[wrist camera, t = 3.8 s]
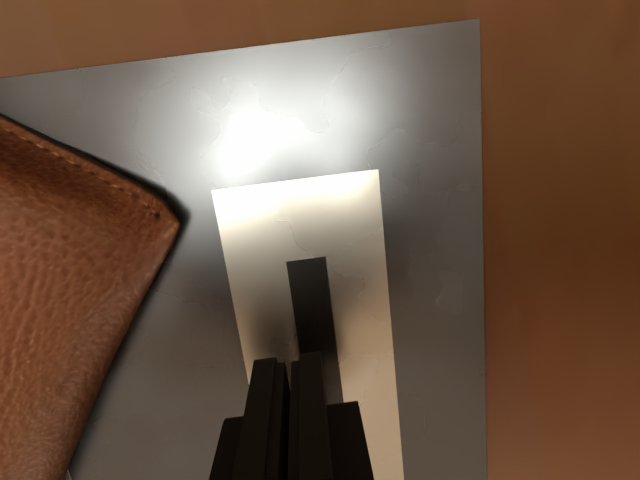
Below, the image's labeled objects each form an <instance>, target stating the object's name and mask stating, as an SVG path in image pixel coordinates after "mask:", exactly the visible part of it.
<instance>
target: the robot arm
mask: <svg viewBox="0 0 640 480" xmlns="http://www.w3.org/2000/svg"><path fill="white" fill-rule="evenodd" d="M209 480H374V476H373V471H372V466H371V461H370V456H369V452H368V447H367V442H366V437H365V432H364V427H363V422H362V418H361V413H360V408H359V403H358V401H352V402H344V403H337V404H329V405H328V403H327V396H326V389H325V381H324V374H323V366H322V359H321V352H320V351H318V352H311V353H303V354H299V360H294V361H291V383H290V387H289V381H288V375H287V369H286V364H285V362H279V363H278V362H277V358H276V357H273V358H265V359H257V360H254V362H253V367H252V373H251V378H250V384H249V389H248V394H247V400H246V405H245V410H244V416H239V417H231V418H226V419H225V420H224V421H223V424H222V428H221V432H220V436H219V440H218V444H217V448H216V452H215V456H214V460H213V464H212V468H211V472H210V476H209Z"/></svg>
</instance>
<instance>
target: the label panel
mask: <svg viewBox="0 0 640 480" xmlns="http://www.w3.org/2000/svg"><path fill="white" fill-rule="evenodd" d="M0 114H1V115H3V116H5V117H7V118H9V119H11V120H14V121H16V122H18V123H20V124H22V125H24V126H26V127H28V128H30V129H32V130H34V131H37V132H39V133H41V134H43V135H45V136H46V137H48V138H50V139H52V140H54V141H57V142H59V143H61V144H63V145H65V146H67V147H70V148H72V149H74V150H76V151H78V152H80V153H82V154H85V155H87V156H89V157H90V158H92V159H94V160H96V161H98V162H100V163H102V164H104V165H106V166H108V167H110V168H111V169H113V170H115V171H117V172H119V173H121V174H123V175H125V176H127V177H128V178H130V179H132V180H134V181H136V182H138V183H140V184H142V185H144V186H146V187H148V188H149V189H151V190H153V191H155V192H156V193H157V194H158V195H159V196H160V197H162V198H163V199H164V200H165V201H166V203H167V204H168V205H169V206H170V208H171V209H172V211H173V212H174V214H175V215H176V217H177V218H178V220H179V221H180V228H179V231H178V234H177V237H176V240H175V242H174V245H173V247H172V249H171V251H170V253H169V254H168V256H167V258H166V259H165V260H164V262H163V264H162V266H161V268H160V270H159V271H158V273H157V275H156V277H155V279H154V280H153V282H152V284H151V286H150V288H149V289H148V291H147V293H146V295H145V296H144V298H143V300H142V303H141V305H140V306H139V308H138V311H137V314H136V315H135V316H134V318H133V320H132V322H131V324H130V326H129V329H128V332H127V334H126V335H125V336H124V338H123V340H122V342H121V344H120V346H119V348H118V350H117V352H116V354H115V356H114V358H113V360H112V364H111V366H110V368H109V370H108V372H107V375H106V377H105V379H104V381H103V383H102V385H101V391H100V394H99V395H98V397H97V398H96V399H95V402H94V404H93V407H92V410H91V414H90V416H89V419H88V421H87V423H86V424H85V429H84V432H83V434H82V436H81V438H80V439H79V442H78V444H77V447H76V448H75V450H74V452H73V457H72V460H71V462H70V465H69V467H68V469H67V472H66V476H65V480H209V476H210V472H211V468H212V464H213V460H214V456H215V452H216V448H217V444H218V440H219V436H220V432H221V428H222V424H223V421H224V420H225V419H226V418H231V417H239V416H244V410H245V405H246V400H247V394H248V389H249V384H250V378H251V373H252V367H253V362H254V360H257V359H265V358H273V357H276V358H277V362H278V363H279V362H285V364H286V369H287V375H288V381H289V387H290V383H291V361H294V360H299V354H303V353H311V352H318V351H320V352H321V359H322V366H323V374H324V381H325V389H326V396H327V403H328V405H329V404H337V403H344V402H352V401H358V403H359V408H360V413H361V418H362V422H363V427H364V432H365V437H366V442H367V447H368V452H369V456H370V461H371V466H372V471H373V476H374V480H487V439H486V377H485V315H484V253H483V190H482V128H481V66H480V18H479V19H471V20H463V21H455V22H447V23H439V24H431V25H423V26H415V27H407V28H398V29H390V30H382V31H374V32H366V33H358V34H350V35H342V36H334V37H326V38H318V39H310V40H302V41H294V42H286V43H278V44H270V45H262V46H254V47H246V48H238V49H230V50H222V51H214V52H206V53H198V54H190V55H182V56H174V57H166V58H158V59H150V60H142V61H134V62H126V63H118V64H110V65H102V66H94V67H86V68H77V69H69V70H61V71H53V72H45V73H37V74H29V75H21V76H13V77H5V78H0Z"/></svg>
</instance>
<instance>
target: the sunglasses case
mask: <svg viewBox="0 0 640 480" xmlns="http://www.w3.org/2000/svg"><path fill="white" fill-rule="evenodd" d="M179 228H180V221H179V220H178V218H177V217H176V215H175V214H174V212H173V211H172V209H171V208H170V206H169V205H168V204H167V203H166V201H165V200H164V199H163V198H162V197H160V196H159V195H158V194H157V193H156V192H155V191H153V190H151V189H149V188H148V187H146V186H144V185H142V184H140V183H138V182H136V181H134V180H132V179H130V178H128V177H127V176H125V175H123V174H121V173H119V172H117V171H115V170H113V169H111V168H110V167H108V166H106V165H104V164H102V163H100V162H98V161H96V160H94V159H92V158H90V157H89V156H87V155H85V154H82V153H80V152H78V151H76V150H74V149H72V148H70V147H67V146H65V145H63V144H61V143H59V142H57V141H54V140H52V139H50V138H48V137H46V136H45V135H43V134H41V133H39V132H37V131H34V130H32V129H30V128H28V127H26V126H24V125H22V124H20V123H18V122H16V121H14V120H11V119H9V118H7V117H5V116H3V115H1V114H0V480H65V476H66V472H67V469H68V467H69V465H70V462H71V460H72V457H73V452H74V450H75V448H76V447H77V444H78V442H79V439H80V438H81V436H82V434H83V432H84V429H85V424H86V423H87V421H88V419H89V416H90V414H91V410H92V407H93V404H94V402H95V399H96V398H97V397H98V395H99V394H100V391H101V385H102V383H103V381H104V379H105V377H106V375H107V372H108V370H109V368H110V366H111V364H112V360H113V358H114V356H115V354H116V352H117V350H118V348H119V346H120V344H121V342H122V340H123V338H124V336H125V335H126V334H127V332H128V329H129V326H130V324H131V322H132V320H133V318H134V316H135V315H136V314H137V311H138V308H139V306H140V305H141V303H142V300H143V298H144V296H145V295H146V293H147V291H148V289H149V288H150V286H151V284H152V282H153V280H154V279H155V277H156V275H157V273H158V271H159V270H160V268H161V266H162V264H163V262H164V260H165V259H166V258H167V256H168V254H169V253H170V251H171V249H172V247H173V245H174V242H175V240H176V237H177V234H178V231H179Z"/></svg>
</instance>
